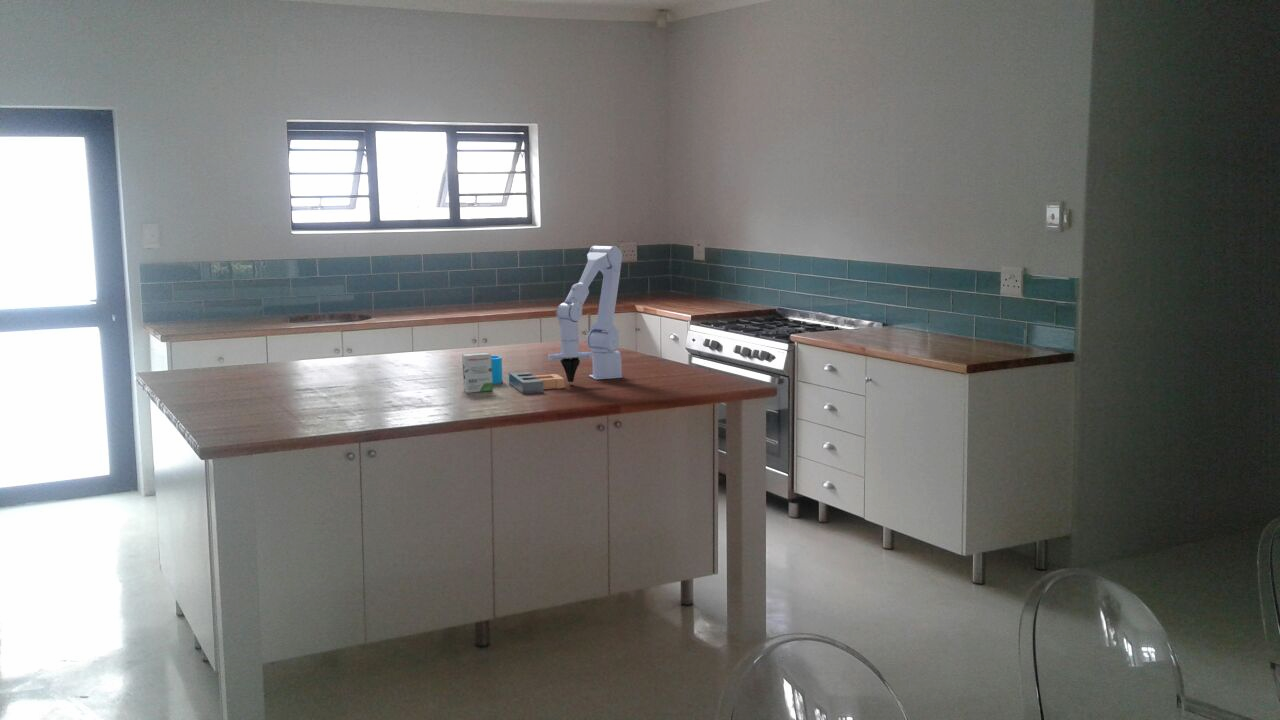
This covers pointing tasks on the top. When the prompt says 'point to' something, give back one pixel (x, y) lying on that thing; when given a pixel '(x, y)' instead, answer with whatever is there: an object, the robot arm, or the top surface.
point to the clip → (551, 381)
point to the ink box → (477, 372)
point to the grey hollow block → (525, 382)
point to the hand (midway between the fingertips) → (570, 381)
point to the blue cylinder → (496, 369)
